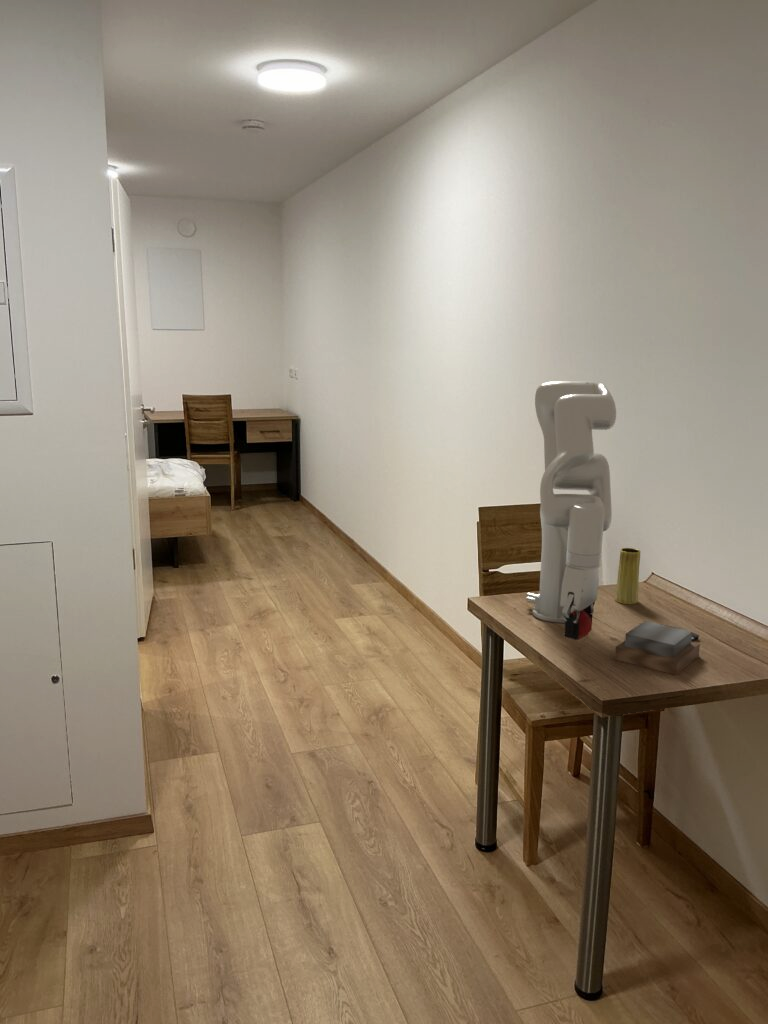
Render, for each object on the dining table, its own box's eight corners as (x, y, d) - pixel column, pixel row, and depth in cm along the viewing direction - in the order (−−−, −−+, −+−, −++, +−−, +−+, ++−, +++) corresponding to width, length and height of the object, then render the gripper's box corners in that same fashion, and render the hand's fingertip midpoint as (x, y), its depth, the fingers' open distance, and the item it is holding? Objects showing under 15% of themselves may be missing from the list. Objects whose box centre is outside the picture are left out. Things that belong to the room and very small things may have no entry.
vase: (642, 603, 235) (646, 552, 232) (621, 605, 233) (625, 553, 230) (631, 596, 241) (634, 546, 237) (610, 598, 239) (614, 547, 236)
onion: (585, 633, 203) (587, 601, 201) (594, 643, 197) (597, 610, 195) (561, 635, 202) (563, 602, 200) (569, 645, 196) (571, 611, 194)
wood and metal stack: (614, 659, 196) (616, 633, 194) (639, 642, 206) (641, 617, 205) (676, 675, 187) (678, 648, 186) (698, 656, 198) (701, 631, 197)
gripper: (585, 546, 203) (579, 618, 208) (550, 564, 190) (545, 641, 195) (615, 552, 199) (609, 626, 203) (581, 571, 186) (576, 649, 190)
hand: (578, 632), depth 199 cm, fingers closed on onion, 5 cm apart
